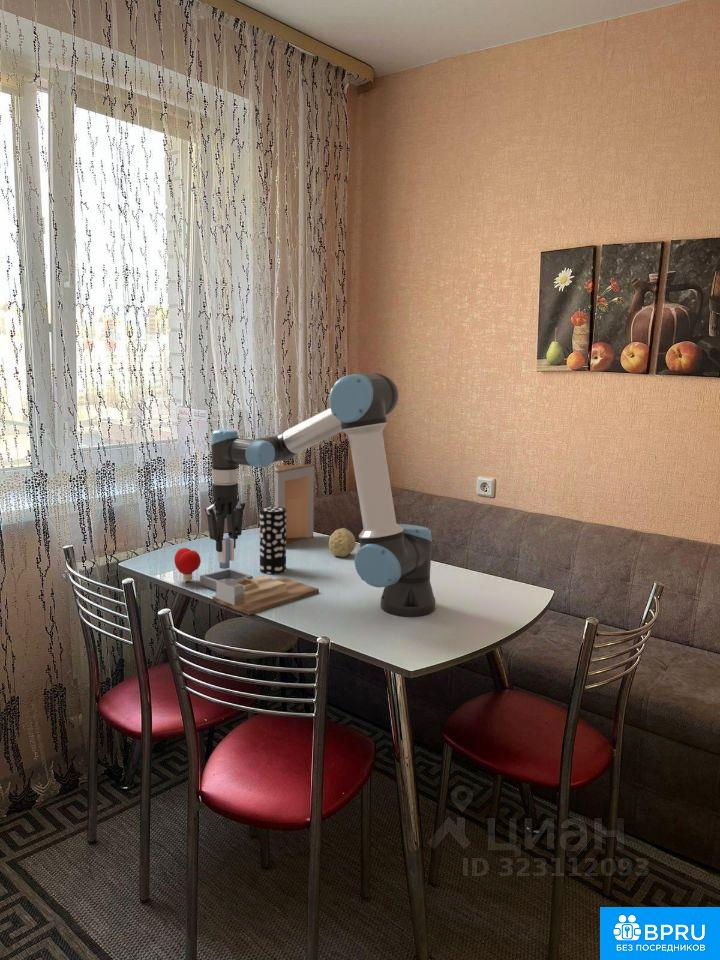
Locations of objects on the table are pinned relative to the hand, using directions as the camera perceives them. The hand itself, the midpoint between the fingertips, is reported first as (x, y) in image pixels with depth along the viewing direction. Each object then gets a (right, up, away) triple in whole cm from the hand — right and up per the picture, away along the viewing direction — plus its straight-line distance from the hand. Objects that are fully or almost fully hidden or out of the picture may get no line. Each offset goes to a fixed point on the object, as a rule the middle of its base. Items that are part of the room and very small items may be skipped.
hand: (226, 560), depth 216 cm
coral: (+33, -2, +36) cm, 49 cm away
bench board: (+13, -9, -8) cm, 18 cm away
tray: (0, -8, +1) cm, 8 cm away
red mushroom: (-12, -7, +4) cm, 15 cm away
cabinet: (+12, +1, +54) cm, 56 cm away
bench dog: (+4, -9, -15) cm, 18 cm away
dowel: (-1, -2, +1) cm, 2 cm away
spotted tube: (+12, -5, +17) cm, 22 cm away
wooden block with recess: (+10, -8, -8) cm, 15 cm away
